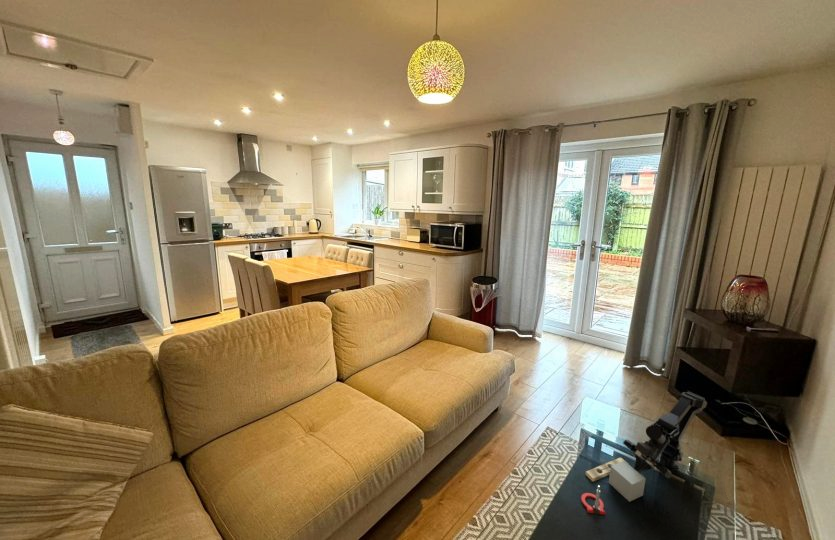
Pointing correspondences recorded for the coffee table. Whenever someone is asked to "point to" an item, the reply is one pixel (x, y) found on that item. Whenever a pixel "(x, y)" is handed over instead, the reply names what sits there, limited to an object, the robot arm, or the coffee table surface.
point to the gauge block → (627, 480)
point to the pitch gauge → (602, 470)
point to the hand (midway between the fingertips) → (634, 473)
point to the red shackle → (598, 506)
